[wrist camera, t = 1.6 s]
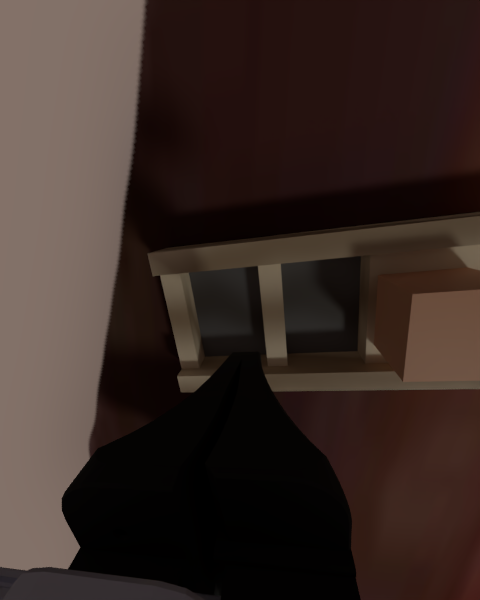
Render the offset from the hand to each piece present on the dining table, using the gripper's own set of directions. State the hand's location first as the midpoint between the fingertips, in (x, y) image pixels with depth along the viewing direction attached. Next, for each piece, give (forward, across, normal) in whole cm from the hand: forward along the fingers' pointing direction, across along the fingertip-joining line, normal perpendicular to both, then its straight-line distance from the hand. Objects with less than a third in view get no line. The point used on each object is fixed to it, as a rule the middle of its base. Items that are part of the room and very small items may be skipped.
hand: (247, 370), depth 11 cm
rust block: (+6, -10, 0) cm, 12 cm away
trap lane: (+8, -8, 0) cm, 12 cm away
